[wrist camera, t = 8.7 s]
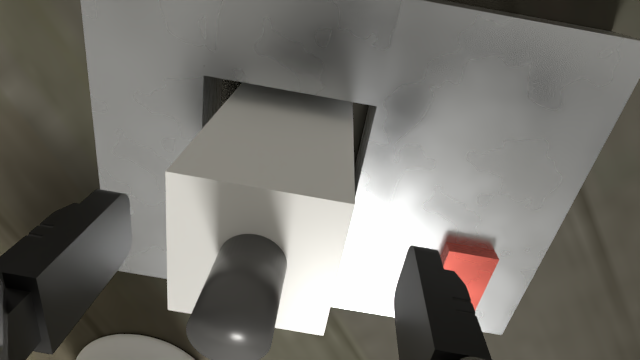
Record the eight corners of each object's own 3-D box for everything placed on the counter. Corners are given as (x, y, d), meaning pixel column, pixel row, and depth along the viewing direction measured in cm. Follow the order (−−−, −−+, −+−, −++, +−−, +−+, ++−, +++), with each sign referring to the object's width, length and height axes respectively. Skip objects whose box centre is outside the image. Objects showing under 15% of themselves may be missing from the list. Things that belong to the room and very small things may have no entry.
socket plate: (612, 31, 15) (671, 47, 12) (485, 295, 21) (505, 345, 18) (115, -61, 15) (61, -66, 12) (134, 236, 21) (101, 278, 18)
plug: (352, 101, 17) (356, 272, 8) (332, 195, 19) (317, 417, 10) (242, 81, 17) (114, 231, 8) (235, 178, 19) (128, 386, 10)
